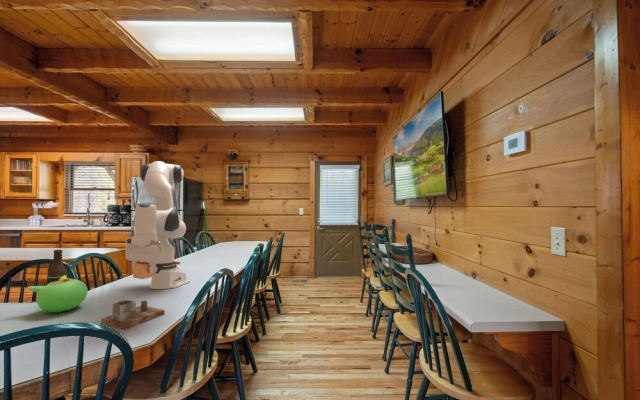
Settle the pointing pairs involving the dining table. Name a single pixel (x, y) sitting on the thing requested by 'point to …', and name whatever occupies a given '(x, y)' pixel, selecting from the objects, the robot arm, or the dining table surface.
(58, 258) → the beer bottle
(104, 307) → the dining table surface
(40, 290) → the gravy boat
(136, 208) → the robot arm
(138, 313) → the pin board
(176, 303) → the dining table surface
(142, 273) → the terracotta sleeve
